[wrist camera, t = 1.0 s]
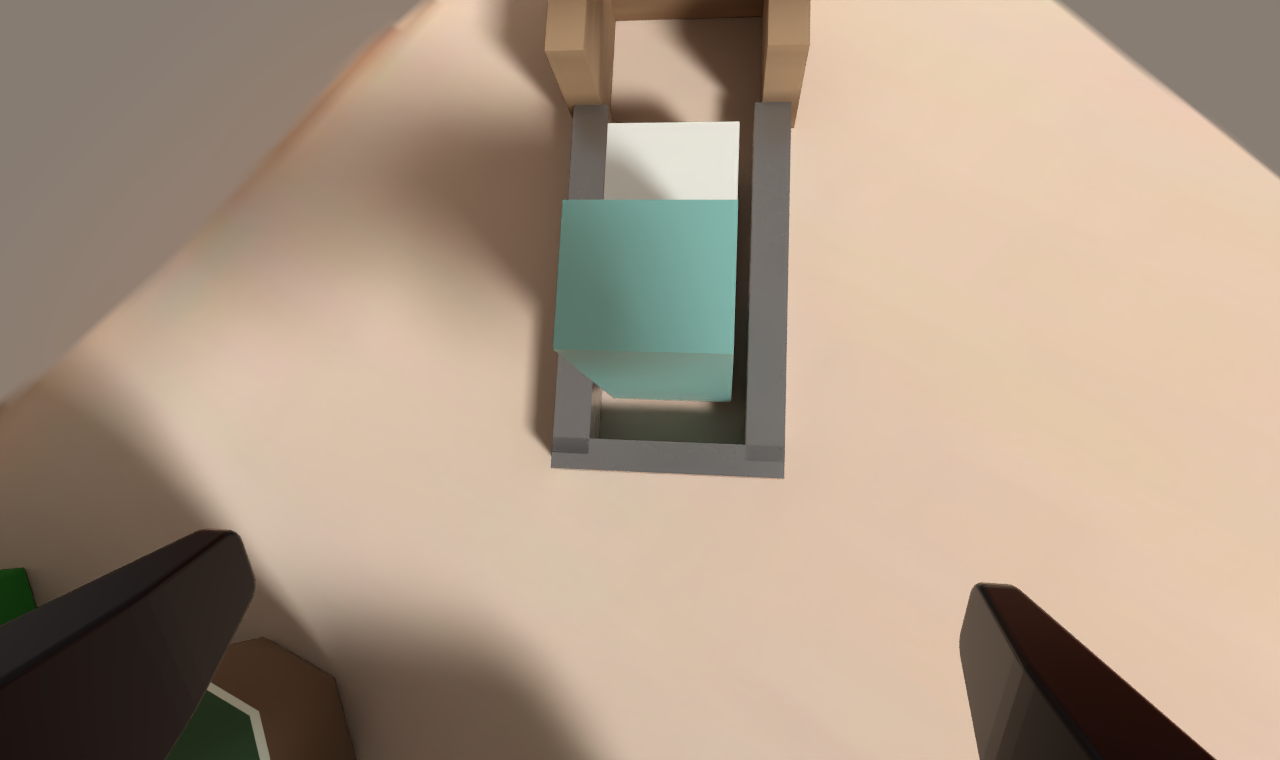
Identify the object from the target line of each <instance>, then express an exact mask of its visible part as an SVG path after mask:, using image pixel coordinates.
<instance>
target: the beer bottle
mask: <svg viewBox="0 0 1280 760" xmlns="http://www.w3.org/2000/svg"><path fill="white" fill-rule="evenodd" d="M166 760H356V759H355V755H354V751H353V747H352V743H351V739H350V735H349V732H348V728H347V724H346V720H345V716H344V712H343V708H342V704H341V701H340V697H339V693H338V689H337V685H336V681H335V678H334V677H332V676H331V675H329V674H327V673H325V672H324V671H322V670H320V669H319V668H317V667H315V666H313V665H312V664H310V663H308V662H306V661H305V660H303V659H301V658H300V657H298V656H296V655H294V654H293V653H291V652H289V651H287V650H286V649H284V648H282V647H281V646H279V645H277V644H275V643H274V642H272V641H270V640H268V639H267V638H265V637H261V638H257V639H253V640H248V641H244V642H239V643H235V644H231V645H229V647H228V649H227V651H226V653H225V655H224V657H223V659H222V661H221V662H220V664H219V666H218V668H217V670H216V672H215V674H214V676H213V678H212V680H211V682H210V684H209V686H208V688H207V690H206V692H205V694H204V696H203V698H202V700H201V702H200V703H199V705H198V707H197V709H196V711H195V712H194V714H193V716H192V718H191V719H190V721H189V723H188V724H187V726H186V728H185V729H184V731H183V732H182V734H181V736H180V737H179V739H178V741H177V742H176V744H175V745H174V747H173V749H172V750H171V752H170V753H169V755H168V757H167V758H166Z"/></svg>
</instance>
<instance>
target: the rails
mask: <svg viewBox="0 0 1280 760" xmlns="http://www.w3.org/2000/svg"><path fill="white" fill-rule="evenodd" d="M608 123H614V122H613V119H612V115H611V112H610V109H609V106H608V105H574V115H573V131H572V147H571V162H570V178H569V193H568V200H604V183H605V165H606V148H607V130H608ZM790 140H791V102H755V108H754V121H753V146H752V184H751V221H750V258H749V296H748V333H747V371H746V408H745V445H741V444H716V443H692V442H667V441H642V440H617V439H599V431H600V413H601V394H602V388H600V387H599V386H598V385H597V384H595V383H594V382H593V381H592V380H590V379H589V378H588V377H587V376H585V375H584V374H583V373H582V372H580V371H579V370H578V369H577V368H575V367H574V366H573V365H572V364H570V363H569V362H568V361H567V360H565V359H564V358H563V357H562V356H560V355H559V354H558V365H557V381H556V396H555V412H554V427H553V443H552V459H551V468H556V469H568V470H589V471H611V472H633V473H655V474H677V475H698V476H720V477H742V478H764V479H784V458H785V405H786V352H787V299H788V246H789V193H790Z"/></svg>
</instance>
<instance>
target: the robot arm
mask: <svg viewBox="0 0 1280 760" xmlns="http://www.w3.org/2000/svg"><path fill="white" fill-rule="evenodd" d="M255 585H256V584H255V576H254V573H253V570H252V567H251V565H250V562H249V559H248V556H247V553H246V550H245V547H244V544H243V542H242V539H241V537H240V536H239V535H238V534H237V533H236V532H234V531H232V530H223V529H202V530H199V531H196V532H194V533H192V534H190V535H188V536H186V537H184V538H182V539H180V540H177V541H175V542H173V543H171V544H169V545H167V546H165V547H163V548H161V549H159V550H157V551H155V552H153V553H150V554H148V555H146V556H144V557H142V558H140V559H138V560H136V561H134V562H132V563H130V564H128V565H125V566H123V567H121V568H119V569H117V570H115V571H113V572H111V573H109V574H107V575H105V576H103V577H100V578H98V579H96V580H94V581H92V582H90V583H88V584H86V585H84V586H82V587H80V588H78V589H76V590H73V591H71V592H69V593H67V594H65V595H63V596H61V597H59V598H57V599H55V600H53V601H51V602H48V603H46V604H44V605H42V606H40V607H38V608H36V609H34V610H32V611H30V612H28V613H26V614H23V615H21V616H19V617H17V618H15V619H13V620H11V621H9V622H7V623H5V624H3V625H1V626H0V760H166V758H167V757H168V755H169V753H170V752H171V750H172V749H173V747H174V745H175V744H176V742H177V741H178V739H179V737H180V736H181V734H182V732H183V731H184V729H185V728H186V726H187V724H188V723H189V721H190V719H191V718H192V716H193V714H194V712H195V711H196V709H197V707H198V705H199V703H200V702H201V700H202V698H203V696H204V694H205V692H206V690H207V688H208V686H209V684H210V682H211V680H212V678H213V676H214V674H215V672H216V670H217V668H218V666H219V664H220V662H221V661H222V659H223V657H224V655H225V653H226V651H227V649H228V647H229V645H230V643H231V641H232V639H233V637H234V635H235V633H236V631H237V629H238V627H239V625H240V623H241V621H242V619H243V617H244V615H245V613H246V611H247V609H248V607H249V605H250V603H251V601H252V598H253V595H254V592H255ZM959 648H960V657H961V663H962V668H963V673H964V679H965V684H966V689H967V695H968V700H969V705H970V710H971V716H972V721H973V726H974V732H975V737H976V742H977V748H978V753H979V758H980V760H1216V759H1215V758H1214V757H1213V756H1212V755H1210V754H1209V753H1208V752H1207V751H1206V750H1205V749H1204V748H1202V747H1201V746H1200V745H1199V744H1198V743H1197V742H1195V741H1194V740H1193V739H1192V738H1191V737H1190V736H1188V735H1187V734H1186V733H1185V732H1184V731H1183V730H1182V729H1180V728H1179V727H1178V726H1177V725H1176V724H1175V723H1173V722H1172V721H1171V720H1170V719H1169V718H1168V717H1167V716H1165V715H1164V714H1163V713H1162V712H1161V711H1160V710H1158V709H1157V708H1156V707H1155V706H1154V705H1153V704H1151V703H1150V702H1149V701H1148V700H1147V699H1146V698H1145V697H1143V696H1142V695H1141V694H1140V693H1139V692H1138V691H1136V690H1135V689H1134V688H1133V687H1132V686H1131V685H1130V684H1128V683H1127V682H1126V681H1125V680H1124V679H1123V678H1121V677H1120V676H1119V675H1118V674H1117V673H1116V672H1114V671H1113V670H1112V669H1111V668H1110V667H1109V666H1108V665H1106V664H1105V663H1104V662H1103V661H1102V660H1101V659H1099V658H1098V657H1097V656H1096V655H1095V654H1094V653H1093V652H1091V651H1090V650H1089V649H1088V648H1087V647H1086V646H1084V645H1083V644H1082V643H1081V642H1080V641H1079V640H1077V639H1076V638H1075V637H1074V636H1073V635H1072V634H1071V633H1069V632H1068V631H1067V630H1066V629H1065V628H1064V627H1062V626H1061V625H1060V624H1059V623H1058V622H1057V621H1056V620H1054V619H1053V618H1052V617H1051V616H1050V615H1049V614H1047V613H1046V612H1045V611H1044V610H1043V609H1042V608H1040V607H1039V606H1038V605H1037V604H1036V603H1035V602H1034V601H1032V600H1031V599H1030V598H1029V597H1028V596H1027V595H1025V594H1024V593H1023V592H1022V591H1021V590H1020V589H1018V588H1017V587H1015V586H1013V585H1009V584H996V583H978V584H976V585H974V587H973V588H972V590H971V593H970V597H969V601H968V605H967V609H966V613H965V617H964V621H963V625H962V629H961V633H960V641H959Z"/></svg>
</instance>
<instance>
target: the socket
mask: <svg viewBox="0 0 1280 760" xmlns="http://www.w3.org/2000/svg"><path fill="white" fill-rule="evenodd" d="M755 16H763V29H762V68H761V102H791V128H794V125H795V119H796V114H797V109H798V103H799V98H800V93H801V88H802V82H803V77H804V72H805V66H806V61H807V56H808V50H809V45H810V0H548V7H547V21H546V36H545V50H544V51H545V54H546V56H547V58H548V61H549V63H550V66H551V68H552V70H553V73H554V75H555V78H556V80H557V82H558V85H559V87H560V90H561V92H562V94H563V97H564V99H565V102H566V104H567V107H568V109H569V111H570V114H571V116H572V119H573V115H574V105H608V106H609V109H610V110H611V93H612V75H613V57H614V39H615V22H616V21H626V20H658V19H690V18H722V17H755Z"/></svg>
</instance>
